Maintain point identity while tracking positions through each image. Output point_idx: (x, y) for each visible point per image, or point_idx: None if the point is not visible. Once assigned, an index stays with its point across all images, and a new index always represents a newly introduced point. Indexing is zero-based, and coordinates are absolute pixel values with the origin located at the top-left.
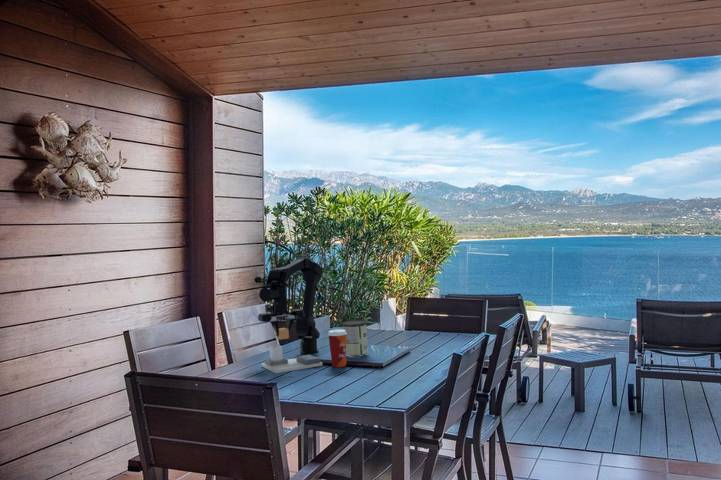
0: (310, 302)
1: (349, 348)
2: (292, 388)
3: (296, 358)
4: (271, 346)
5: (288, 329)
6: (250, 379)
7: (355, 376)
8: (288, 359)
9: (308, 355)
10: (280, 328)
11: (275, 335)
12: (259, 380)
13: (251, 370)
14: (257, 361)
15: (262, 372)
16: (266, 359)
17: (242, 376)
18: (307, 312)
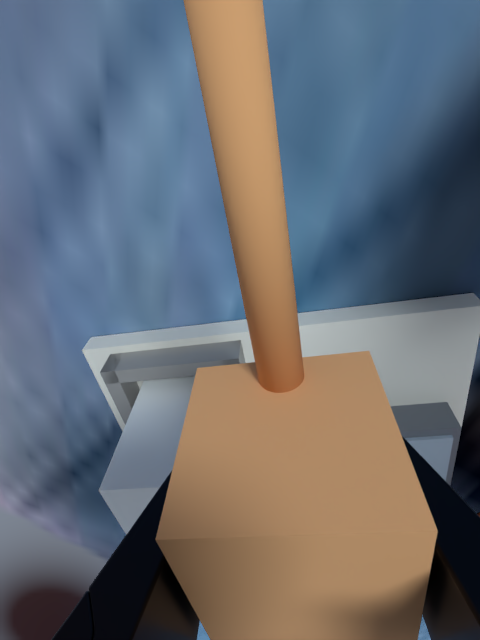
0: None
1: None
2: (199, 634)
3: (374, 330)
4: (122, 507)
5: (426, 606)
6: (55, 526)
7: (428, 633)
8: (303, 330)
9: (429, 457)
10: (282, 549)
11: (210, 111)
12: (95, 548)
13: (32, 396)
14: (33, 100)
15: (102, 460)
16: (111, 374)
17: (6, 476)
18: None
